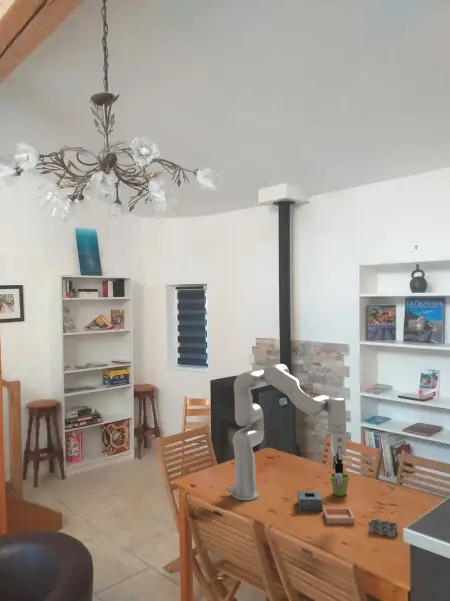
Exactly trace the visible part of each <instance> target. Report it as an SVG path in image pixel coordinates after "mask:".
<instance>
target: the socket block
mask: <svg viewBox="0 0 450 601" xmlns="http://www.w3.org/2000/svg"><path fill="white" fill-rule="evenodd" d="M296 493H297V504H298V509H299V512H300V511H301V512H304V511H305V512H310V511H311V512H323V508H324V506H323V504H324V503H323V497H322V494H321V492H320V490H297V492H296Z"/></svg>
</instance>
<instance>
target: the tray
mask: <svg viewBox="0 0 450 601" xmlns="http://www.w3.org/2000/svg"><path fill="white" fill-rule="evenodd" d="M322 512H323V517H324V520H325V522H326V525H355V522H356V521H355V517H354V514H353V513H352V510H351V507H323V511H322Z"/></svg>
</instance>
